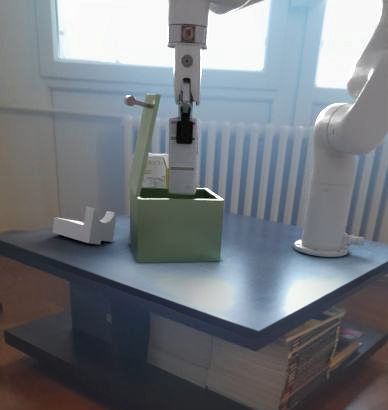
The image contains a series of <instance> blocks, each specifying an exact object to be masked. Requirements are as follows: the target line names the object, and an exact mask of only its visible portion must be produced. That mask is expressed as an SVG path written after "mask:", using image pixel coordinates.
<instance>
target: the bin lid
mask: <svg viewBox="0 0 388 410" xmlns="http://www.w3.org/2000/svg"><path fill="white" fill-rule="evenodd" d="M161 98H162V95H161V94H159V93H146V94H145V98H144V102H143V101H142V100H141V101H140V100H137V99H136V97H135V96H134V95H126V96H124V98H123V102H124V104H125V105H126V106H129V107H134V106H138V107H142V113H141V117H140V122H139V128H138V133H137V138H136V143H135V147H134V152H133V154H134V157H133V162H132V161H131V162H132V167H131V166H130V172H129V177H128V183H127V186H128V187H129V189H130V188H131V190H132V191H133V193H134V195H135V196H137V197H140V192H141V187H142V183H143V178H144V173H145V169H146V164H147V159H148V154H149V153H150V149H151V144H152V140H153V135H154V131H155V126H156V121H157V115H158V112H159V111H158V110H159V106H160V101H161Z"/></svg>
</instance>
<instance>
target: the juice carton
mask: <svg viewBox="0 0 388 410" xmlns="http://www.w3.org/2000/svg"><path fill="white" fill-rule="evenodd" d="M131 156H132V157H131V163H130V168H131V167H132V162H133V157H134V153H132V155H131ZM168 184H169V153H152V152H149V154H148V159H147V164H146V169H145V173H144V178H143V183H142V187H159V188H169V187H168Z"/></svg>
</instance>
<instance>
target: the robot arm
mask: <svg viewBox="0 0 388 410" xmlns="http://www.w3.org/2000/svg"><path fill="white" fill-rule="evenodd" d="M264 1H265V0H168V3H167V4H168V5H167V7H168V8H167V11H168V12H167V48H170V49H173V97H174V104H175V105H177V107H178V110H177V111H178V112H177V117H178V121H177V130H176V143H177V144H192V141H193V122H192V117H193V111H194V110H193V109H194V103H195V106H196V107H199V106H200V105H201V93H202V92H201V91H202V69H203V68H202V67H203V54H202V51H204V50H208V41H209V24H210V23H209V22H210V21H209V20H210V12H212V13H213V14H215V15H220V16H225V15H229V14H231V13H234V12H237V11H239V10H242V9H245V8H247V7H250V6H252V5H255V4H258V3H261V2H264ZM379 3H380V14H379V19H378V22H377V24H376V26H375V28H374V30H373V32H372V33H371V36H370V37H369V39H368V41H367V42H366V45H365V46H364V47H363V50H362V51H361V53H360V55H358V58H357V59H356V61H355V62H354V65H353V66H352V68H351V70H350V72H348V73H349V74H348V76H347V80H346V90H347V93H348V95H349V96H350V97H351V98H352V99H353V100H354V102H336V103H333V104H329V105H328V106H326V108H324V109H323V110H321V112H320V113H319V114H318V116H317V118H316V120H315V122H314V126H313V133H312V134H313V135H312V151H313V152H312V164H311V165H312V166H311V173H310V180H309V184H308V192H307V200H306V207H305V214H304V220H303V226H302V227H303V228H302V235H301V239H298V240H296V241H294V243H293V248H294V249H295V250H296V251H298V252H299V253H302V254H305V255H310V256H314V257H315V256H316V257H321V258H323V257H324V258H339V257H344V256H346V255H348V254H349V247H350V246H351V245H353V246H364V244H365V237H364V236H356V235H349V234H348V233H347V232H346V228H347V222H348V215H349V211H350V205H351V199H352V194H353V188H354V183H355V178H356V171H357V158H356V156H363V155H367V154H369V153H371V152H373V151H374V150H376V149H377V148H378V147H379V145H381V143H382V142H383V141H384V139H385V138H386V136H387V135H388V0H379ZM189 117H190V118H189Z"/></svg>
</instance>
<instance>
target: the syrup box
mask: <svg viewBox="0 0 388 410" xmlns="http://www.w3.org/2000/svg"><path fill="white" fill-rule="evenodd" d="M189 118H190V117H189ZM177 121H178V116H171V117H170V118H168V154H169V184H168V187H169V190H168V191H169V193H173V194H190V195H195V193H196V184H197V183H198V182H197V179H198V156H199V155H198V154H199V153H198V151H199V150H198V149H199V118H198V117H193V116H192V122H193V141H192V144H177V143H176V130H177Z"/></svg>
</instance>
